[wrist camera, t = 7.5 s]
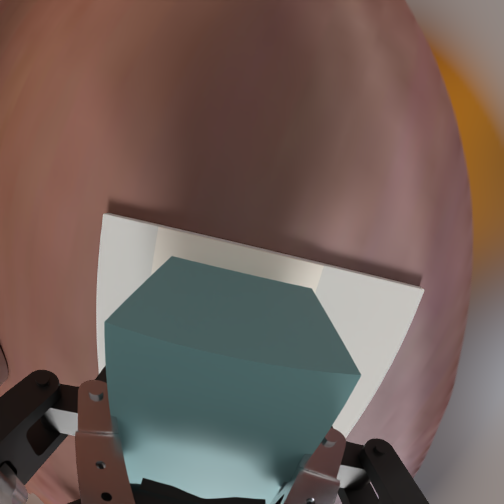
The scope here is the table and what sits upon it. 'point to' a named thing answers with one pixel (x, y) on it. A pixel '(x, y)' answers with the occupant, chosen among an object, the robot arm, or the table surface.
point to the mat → (271, 267)
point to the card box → (222, 379)
